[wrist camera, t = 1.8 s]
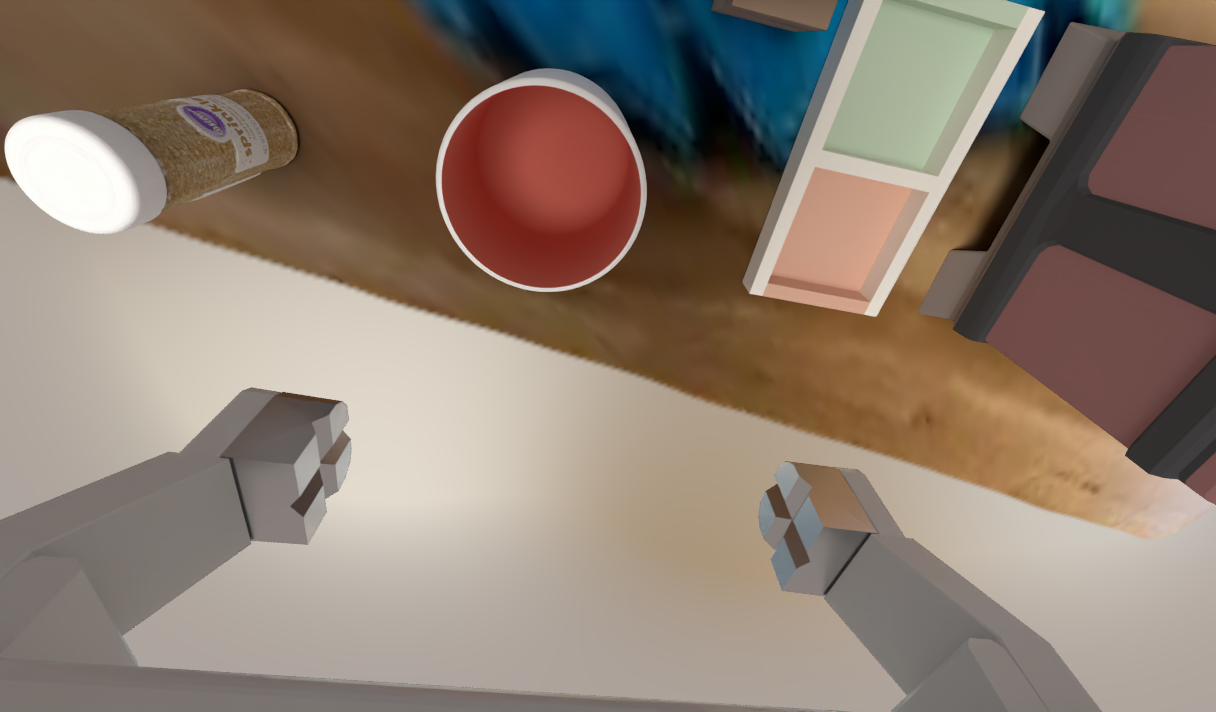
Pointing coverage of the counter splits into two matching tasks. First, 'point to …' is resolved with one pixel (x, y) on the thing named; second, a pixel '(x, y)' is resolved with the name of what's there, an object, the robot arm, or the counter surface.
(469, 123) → the cup
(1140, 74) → the toaster
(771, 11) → the walnut block
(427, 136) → the counter surface
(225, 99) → the sprinkles bottle
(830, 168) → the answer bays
